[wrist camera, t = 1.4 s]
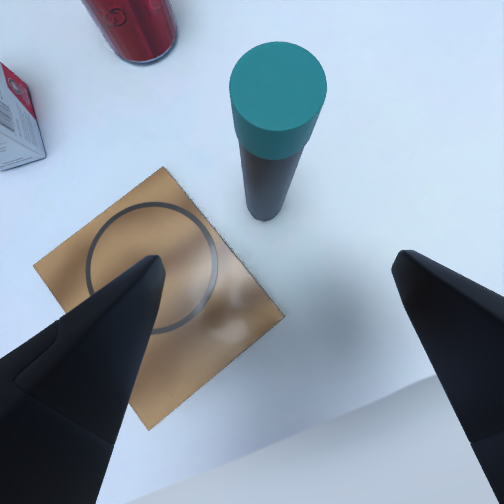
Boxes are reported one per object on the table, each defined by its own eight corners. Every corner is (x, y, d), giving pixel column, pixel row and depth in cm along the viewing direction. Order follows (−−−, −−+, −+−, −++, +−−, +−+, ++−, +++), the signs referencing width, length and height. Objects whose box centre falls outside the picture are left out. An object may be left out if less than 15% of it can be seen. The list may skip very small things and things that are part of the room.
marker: (289, 208, 22) (347, 90, 8) (261, 231, 22) (271, 150, 8) (266, 182, 22) (284, 23, 8) (238, 204, 22) (209, 79, 8)
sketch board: (284, 315, 21) (285, 317, 20) (151, 426, 20) (147, 432, 19) (165, 168, 22) (162, 164, 22) (38, 266, 22) (30, 265, 21)
